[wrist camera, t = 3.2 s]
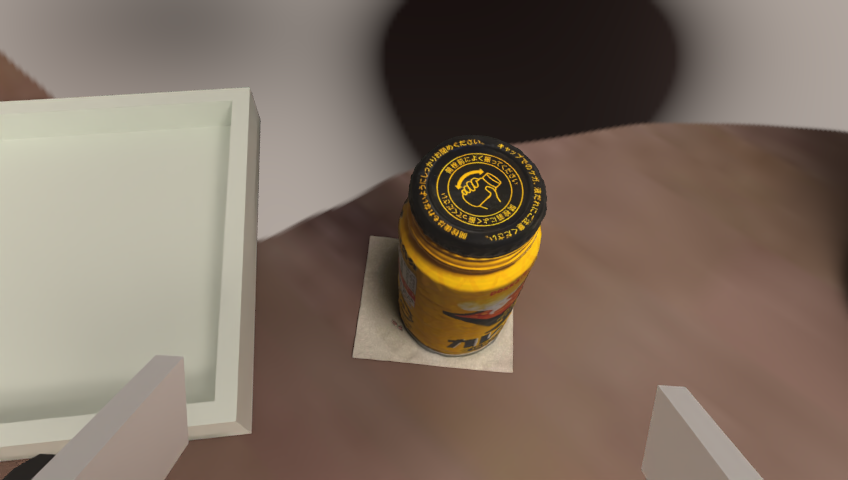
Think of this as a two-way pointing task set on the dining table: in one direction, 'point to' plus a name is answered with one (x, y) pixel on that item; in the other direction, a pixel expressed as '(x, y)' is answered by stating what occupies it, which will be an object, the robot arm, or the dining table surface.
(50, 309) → the tray
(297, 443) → the dining table surface
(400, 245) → the condiment
